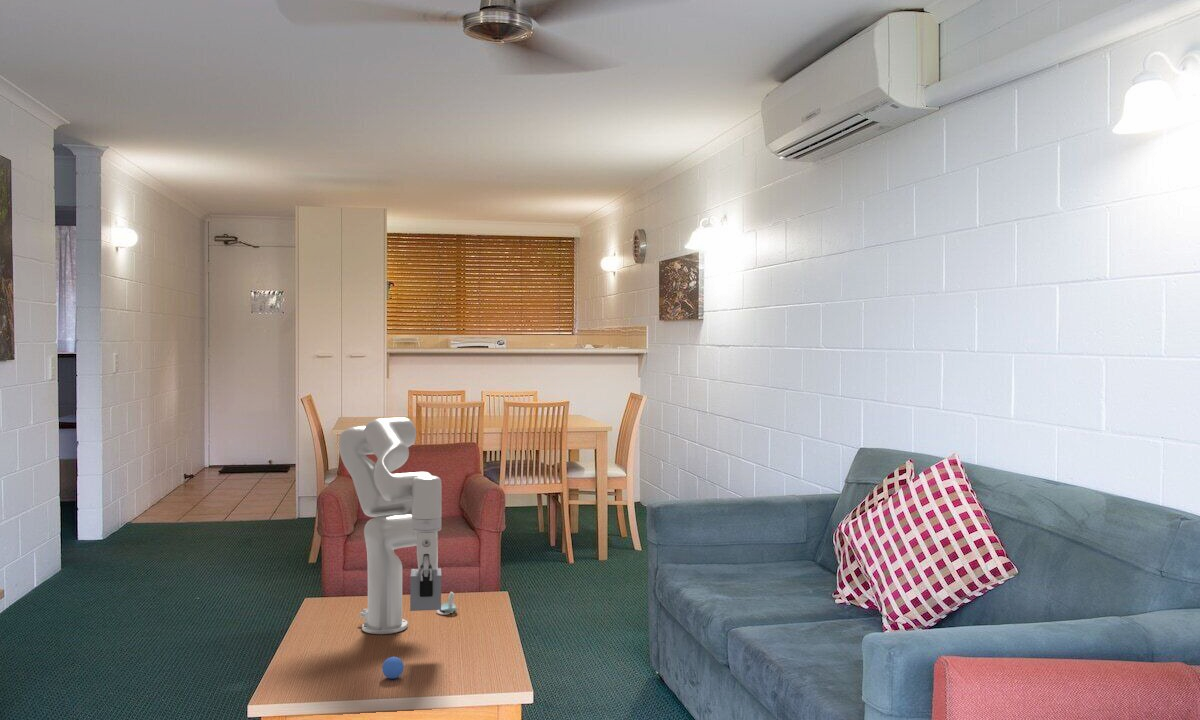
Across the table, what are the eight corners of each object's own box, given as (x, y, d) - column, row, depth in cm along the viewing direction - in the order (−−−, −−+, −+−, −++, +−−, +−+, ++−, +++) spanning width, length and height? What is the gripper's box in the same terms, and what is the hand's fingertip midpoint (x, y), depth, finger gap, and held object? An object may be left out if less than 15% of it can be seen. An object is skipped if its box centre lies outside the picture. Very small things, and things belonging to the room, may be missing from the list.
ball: (377, 679, 219) (377, 658, 219) (392, 673, 223) (392, 652, 223) (393, 683, 216) (393, 662, 216) (408, 676, 221) (408, 656, 221)
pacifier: (438, 617, 271) (458, 615, 273) (437, 596, 271) (458, 594, 273) (435, 611, 278) (454, 608, 280) (434, 590, 278) (454, 588, 280)
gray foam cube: (410, 611, 234) (410, 576, 233) (411, 602, 241) (411, 569, 241) (441, 609, 235) (441, 575, 235) (440, 601, 242) (441, 568, 242)
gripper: (441, 530, 230) (441, 600, 230) (441, 517, 247) (441, 583, 247) (410, 531, 229) (410, 601, 229) (412, 518, 246) (412, 584, 246)
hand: (426, 591), depth 238 cm, fingers closed on gray foam cube, 7 cm apart
